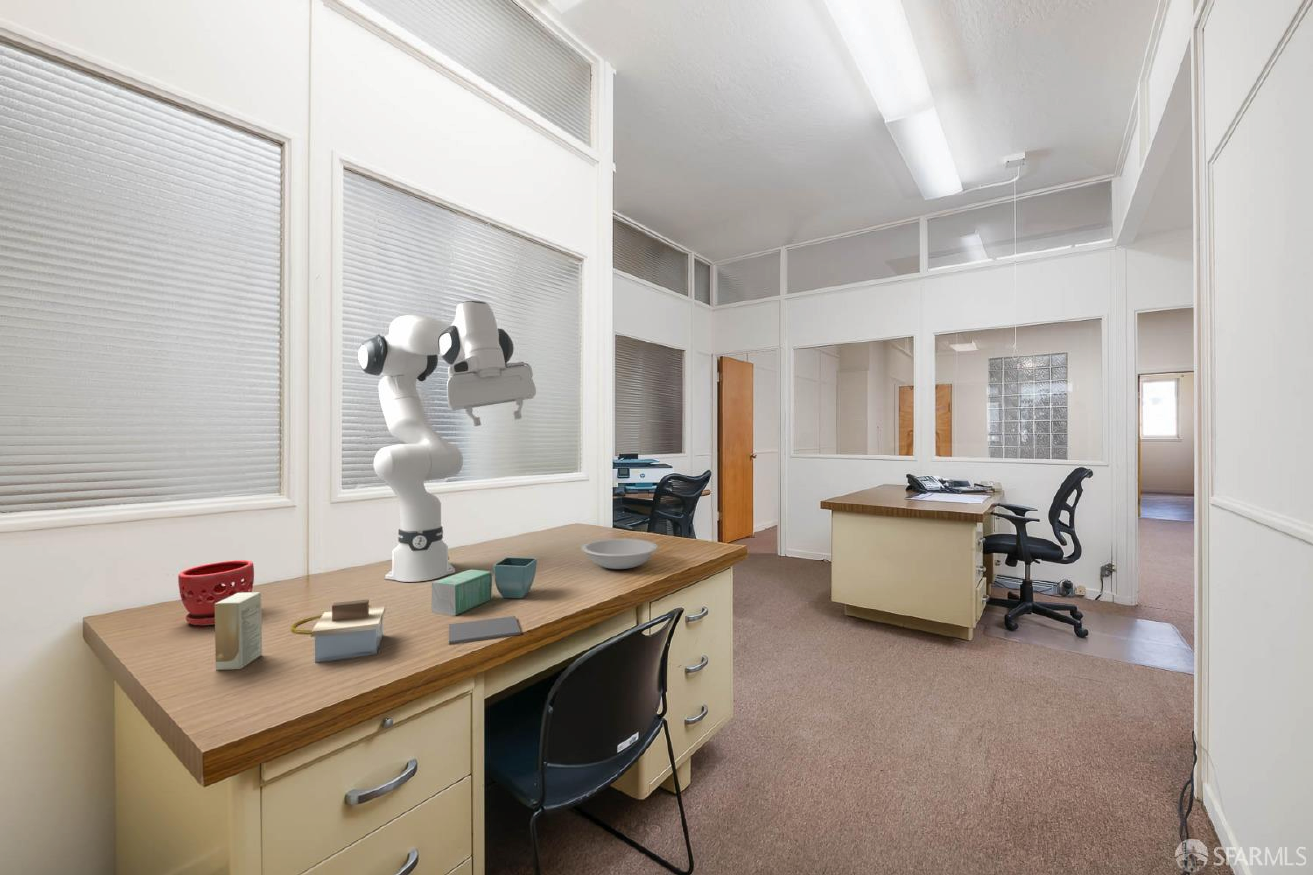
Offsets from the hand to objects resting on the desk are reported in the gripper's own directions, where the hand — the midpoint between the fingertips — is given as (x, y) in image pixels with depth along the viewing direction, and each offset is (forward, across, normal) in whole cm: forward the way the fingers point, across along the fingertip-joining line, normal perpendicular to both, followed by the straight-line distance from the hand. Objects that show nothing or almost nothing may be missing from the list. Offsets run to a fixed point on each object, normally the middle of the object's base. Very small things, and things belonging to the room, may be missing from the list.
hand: (498, 422), depth 123 cm
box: (+41, +15, -16) cm, 47 cm away
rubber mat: (+45, +12, +3) cm, 47 cm away
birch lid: (+35, +36, +4) cm, 51 cm away
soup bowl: (+46, -31, -36) cm, 66 cm away
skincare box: (+37, +54, +3) cm, 66 cm away
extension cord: (+37, +42, -14) cm, 58 cm away
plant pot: (+30, +66, -26) cm, 77 cm away
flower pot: (+43, +3, -19) cm, 47 cm away
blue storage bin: (+40, +37, +3) cm, 55 cm away
